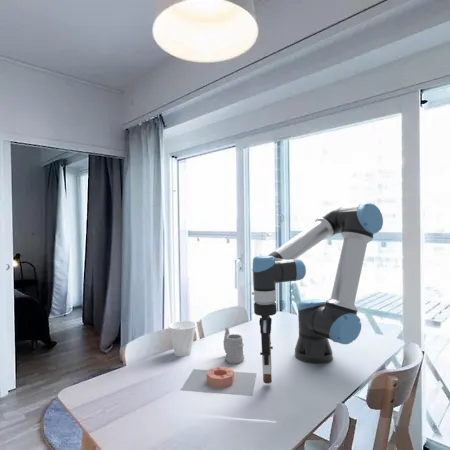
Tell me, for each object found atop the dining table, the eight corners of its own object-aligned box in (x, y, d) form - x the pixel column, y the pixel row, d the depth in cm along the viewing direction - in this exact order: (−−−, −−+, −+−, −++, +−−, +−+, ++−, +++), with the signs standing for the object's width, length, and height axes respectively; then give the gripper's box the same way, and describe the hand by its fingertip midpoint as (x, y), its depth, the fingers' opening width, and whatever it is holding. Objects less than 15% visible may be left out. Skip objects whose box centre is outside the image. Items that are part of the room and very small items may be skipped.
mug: (232, 366, 126) (231, 335, 126) (216, 356, 136) (216, 327, 136) (248, 362, 130) (247, 332, 130) (232, 352, 140) (231, 324, 140)
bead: (235, 376, 117) (234, 367, 117) (231, 388, 108) (230, 379, 108) (210, 374, 119) (210, 366, 119) (204, 386, 110) (204, 377, 110)
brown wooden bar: (271, 379, 111) (270, 333, 111) (271, 383, 108) (269, 335, 108) (263, 379, 112) (262, 332, 111) (263, 383, 109) (261, 335, 109)
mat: (256, 374, 119) (256, 373, 119) (252, 396, 103) (252, 395, 103) (193, 370, 123) (193, 369, 123) (180, 391, 108) (180, 390, 108)
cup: (178, 361, 131) (178, 331, 132) (163, 353, 140) (163, 324, 140) (202, 353, 139) (201, 324, 139) (186, 346, 148) (186, 319, 148)
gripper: (255, 296, 118) (257, 360, 118) (251, 307, 103) (254, 381, 103) (276, 296, 117) (278, 361, 117) (275, 308, 101) (278, 383, 101)
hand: (267, 371), depth 110 cm, fingers closed on brown wooden bar, 3 cm apart
